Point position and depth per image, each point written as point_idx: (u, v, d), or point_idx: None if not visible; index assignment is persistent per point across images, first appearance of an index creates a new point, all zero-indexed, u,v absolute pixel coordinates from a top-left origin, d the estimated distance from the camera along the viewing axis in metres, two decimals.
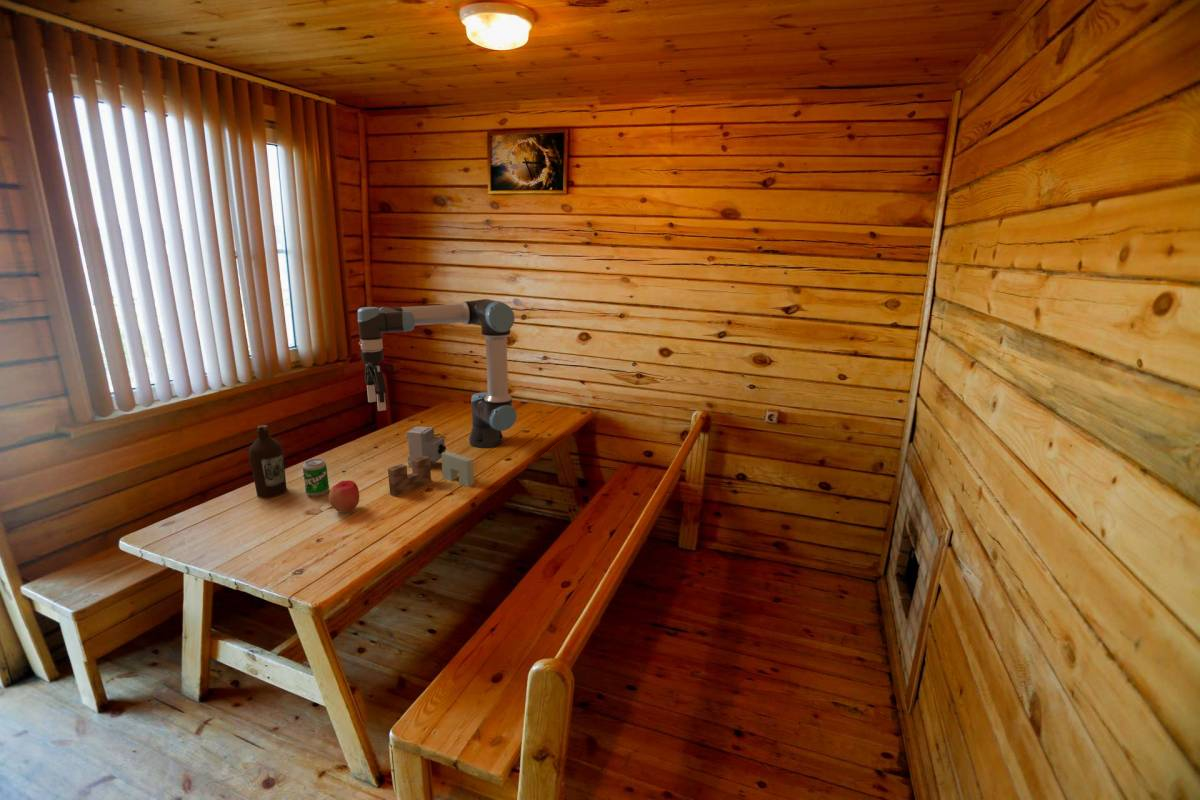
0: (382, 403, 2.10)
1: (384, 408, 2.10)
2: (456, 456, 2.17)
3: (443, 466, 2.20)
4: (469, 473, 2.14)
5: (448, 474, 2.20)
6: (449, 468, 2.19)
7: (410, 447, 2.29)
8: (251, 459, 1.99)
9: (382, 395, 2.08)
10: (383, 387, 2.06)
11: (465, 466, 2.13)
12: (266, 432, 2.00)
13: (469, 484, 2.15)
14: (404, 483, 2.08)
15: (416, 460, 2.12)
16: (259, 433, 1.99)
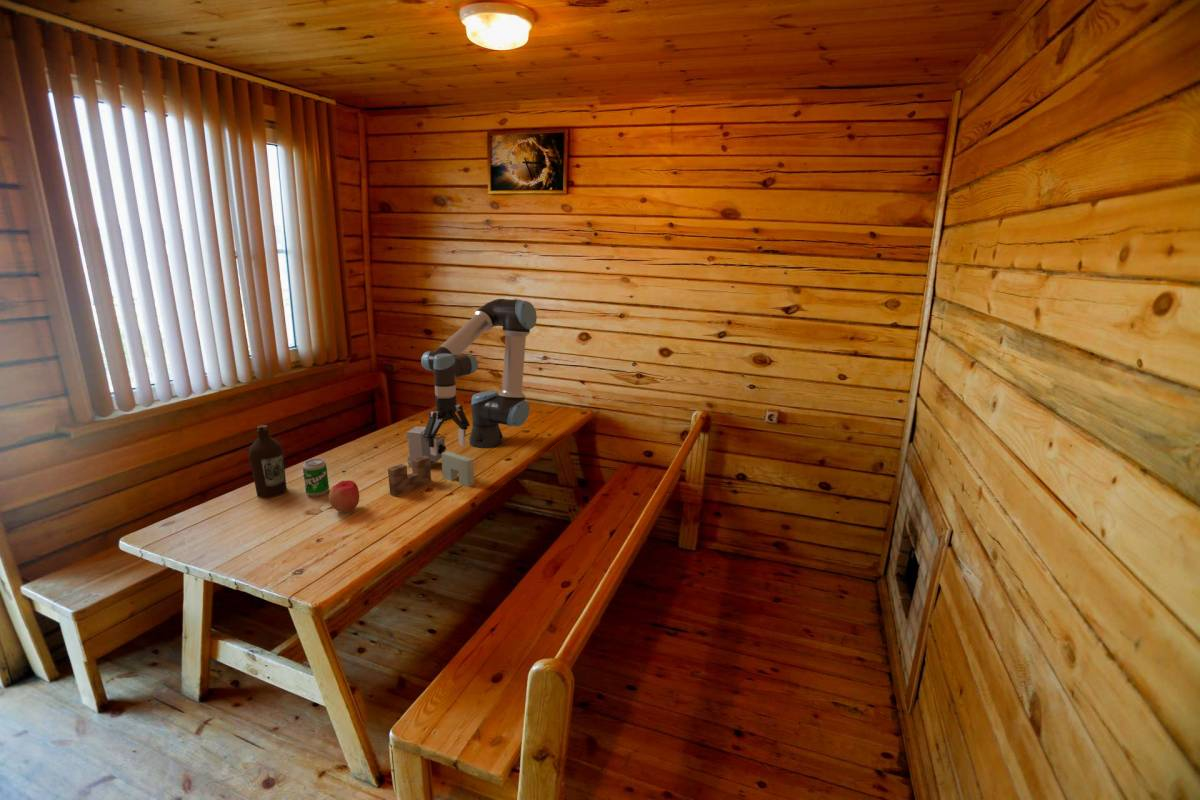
0: (433, 448, 2.12)
1: (434, 453, 2.12)
2: (456, 456, 2.17)
3: (443, 466, 2.20)
4: (469, 473, 2.14)
5: (448, 474, 2.20)
6: (449, 468, 2.19)
7: (410, 447, 2.29)
8: (251, 459, 1.99)
9: (430, 440, 2.10)
10: (427, 433, 2.08)
11: (465, 466, 2.13)
12: (266, 432, 2.00)
13: (469, 484, 2.15)
14: (404, 483, 2.08)
15: (416, 460, 2.12)
16: (259, 433, 1.99)
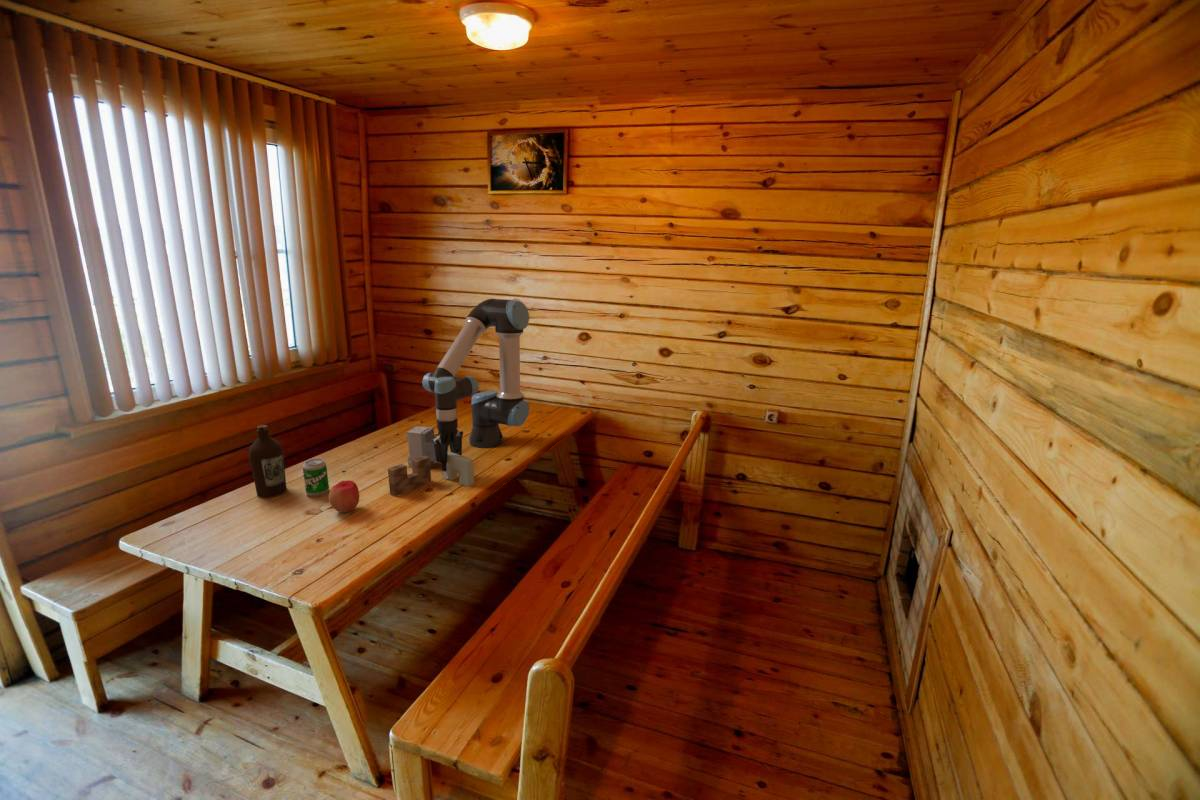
0: (445, 472, 2.19)
1: (447, 477, 2.20)
2: (456, 456, 2.17)
3: None
4: (469, 473, 2.14)
5: None
6: (449, 468, 2.19)
7: (410, 447, 2.29)
8: (251, 459, 1.99)
9: (442, 465, 2.17)
10: (439, 459, 2.15)
11: (465, 466, 2.13)
12: (266, 432, 2.00)
13: (469, 484, 2.15)
14: (404, 483, 2.08)
15: (416, 460, 2.12)
16: (259, 433, 1.99)
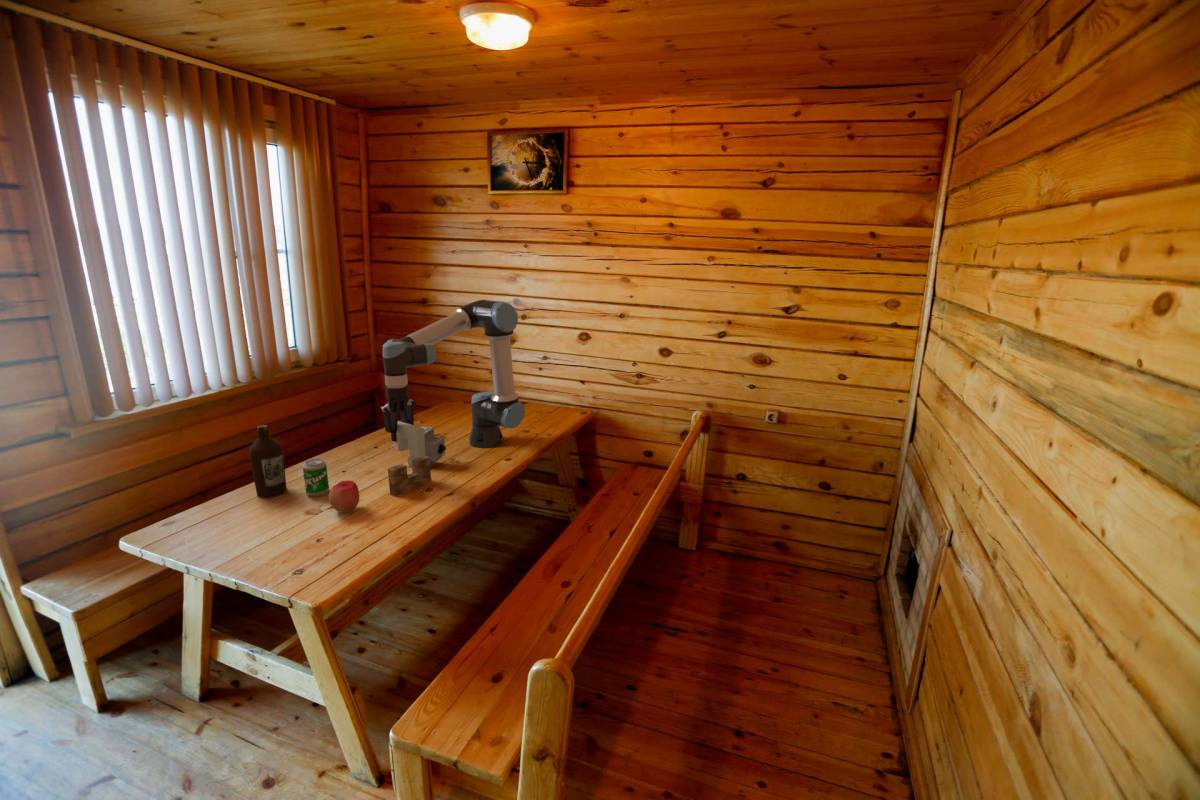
0: (396, 442, 2.08)
1: (397, 448, 2.08)
2: (407, 425, 2.06)
3: None
4: (419, 443, 2.03)
5: None
6: (399, 438, 2.08)
7: None
8: (251, 459, 1.99)
9: (392, 434, 2.06)
10: (387, 428, 2.04)
11: (415, 435, 2.02)
12: (266, 432, 2.00)
13: (420, 455, 2.04)
14: (404, 483, 2.08)
15: (416, 460, 2.12)
16: (259, 433, 1.99)
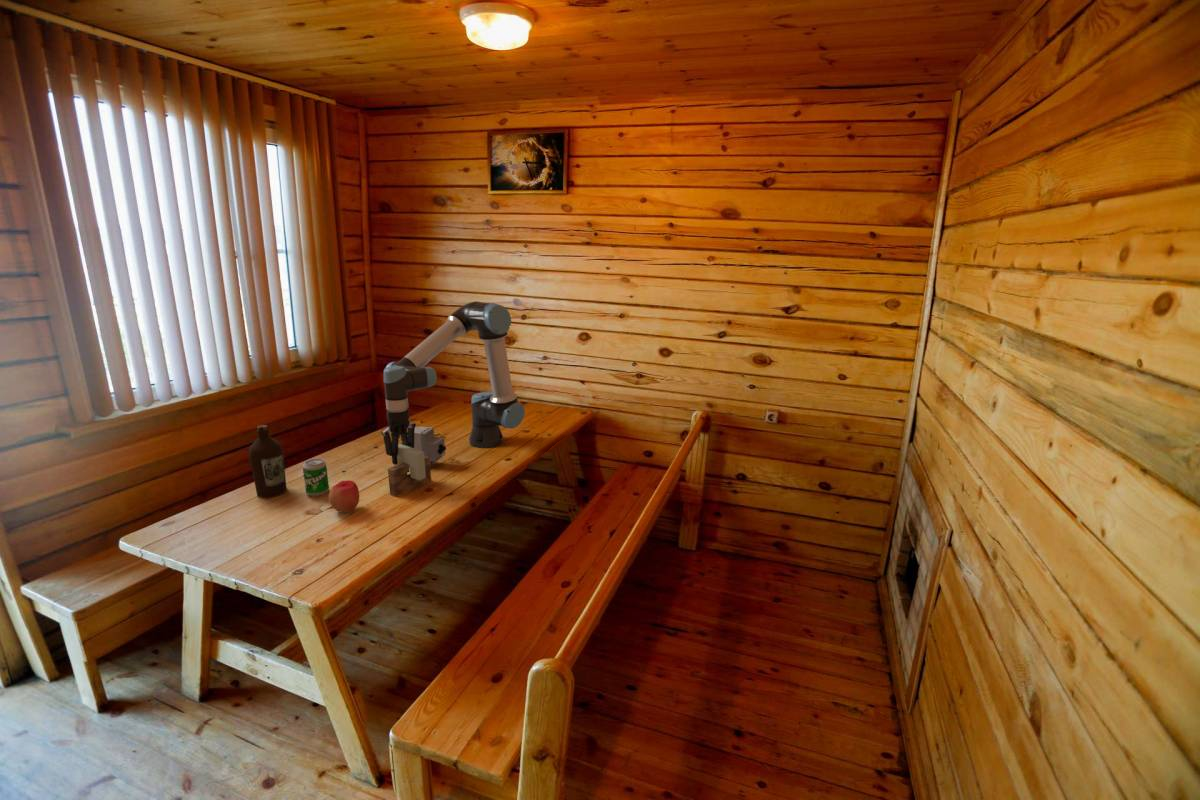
0: (396, 465, 2.11)
1: None
2: (407, 449, 2.08)
3: None
4: (420, 466, 2.05)
5: None
6: (400, 461, 2.10)
7: None
8: (251, 459, 1.99)
9: (393, 458, 2.09)
10: (388, 451, 2.06)
11: (415, 459, 2.04)
12: (266, 432, 2.00)
13: (420, 478, 2.06)
14: (404, 483, 2.08)
15: None
16: (259, 433, 1.99)
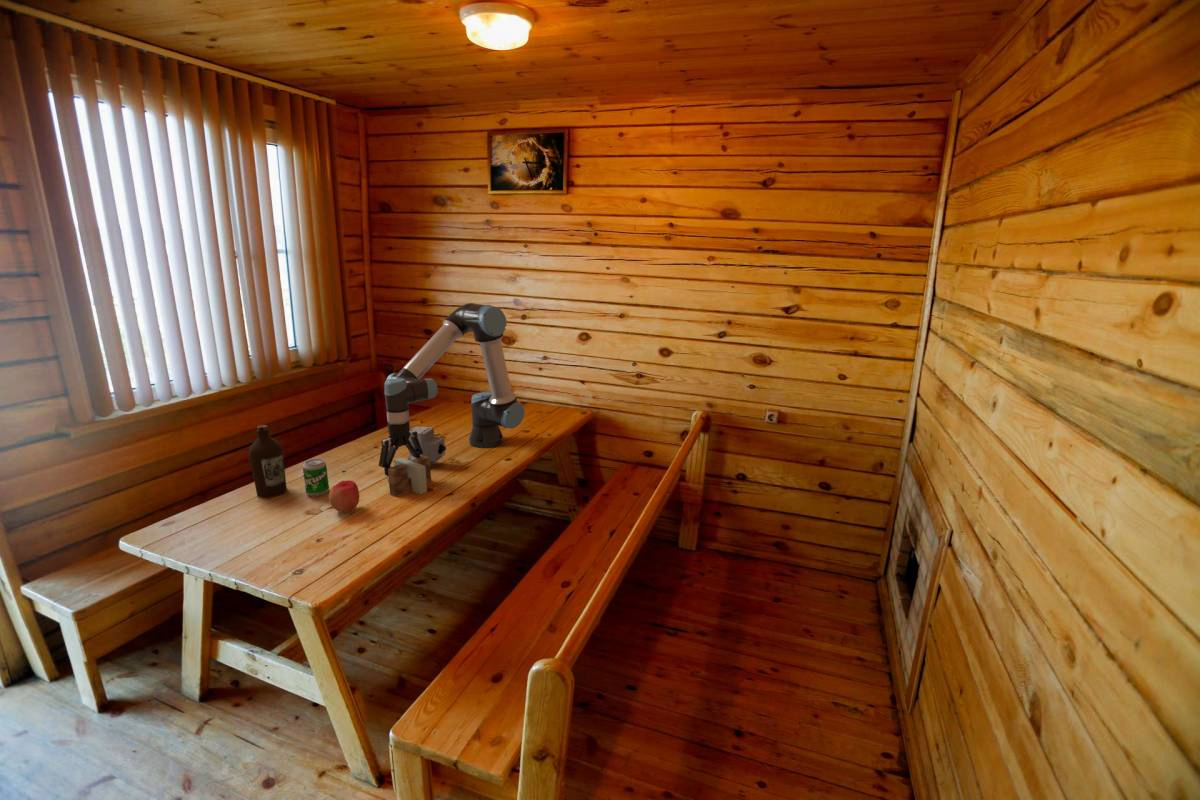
0: None
1: None
2: (409, 463, 2.10)
3: None
4: (421, 480, 2.07)
5: None
6: None
7: None
8: (251, 459, 1.99)
9: (385, 469, 2.07)
10: (382, 462, 2.05)
11: (417, 473, 2.06)
12: (266, 432, 2.00)
13: (422, 492, 2.08)
14: (404, 483, 2.08)
15: (416, 460, 2.12)
16: (259, 433, 1.99)
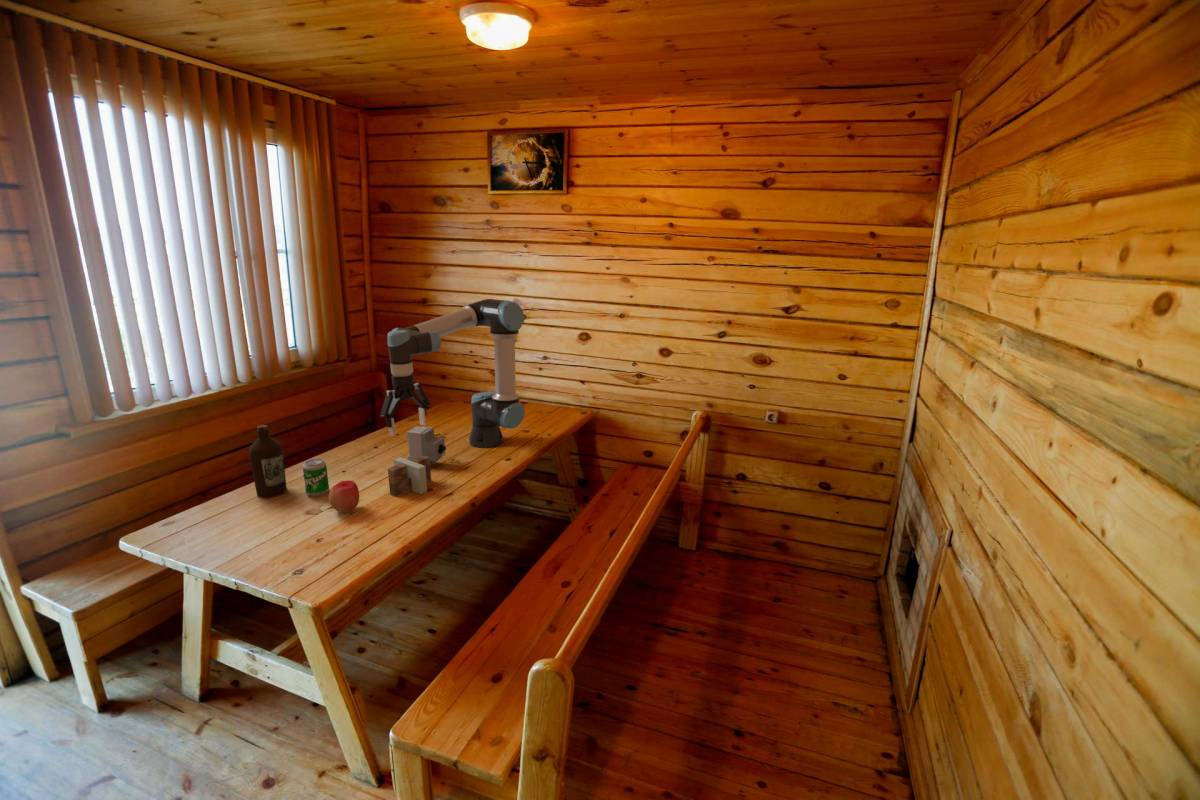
0: (391, 428, 2.06)
1: (392, 434, 2.06)
2: (409, 463, 2.10)
3: None
4: (421, 480, 2.07)
5: None
6: None
7: (410, 447, 2.29)
8: (251, 459, 1.99)
9: (387, 420, 2.04)
10: (383, 413, 2.02)
11: (417, 473, 2.06)
12: (266, 432, 2.00)
13: (422, 492, 2.08)
14: (404, 483, 2.08)
15: (416, 460, 2.12)
16: (259, 433, 1.99)
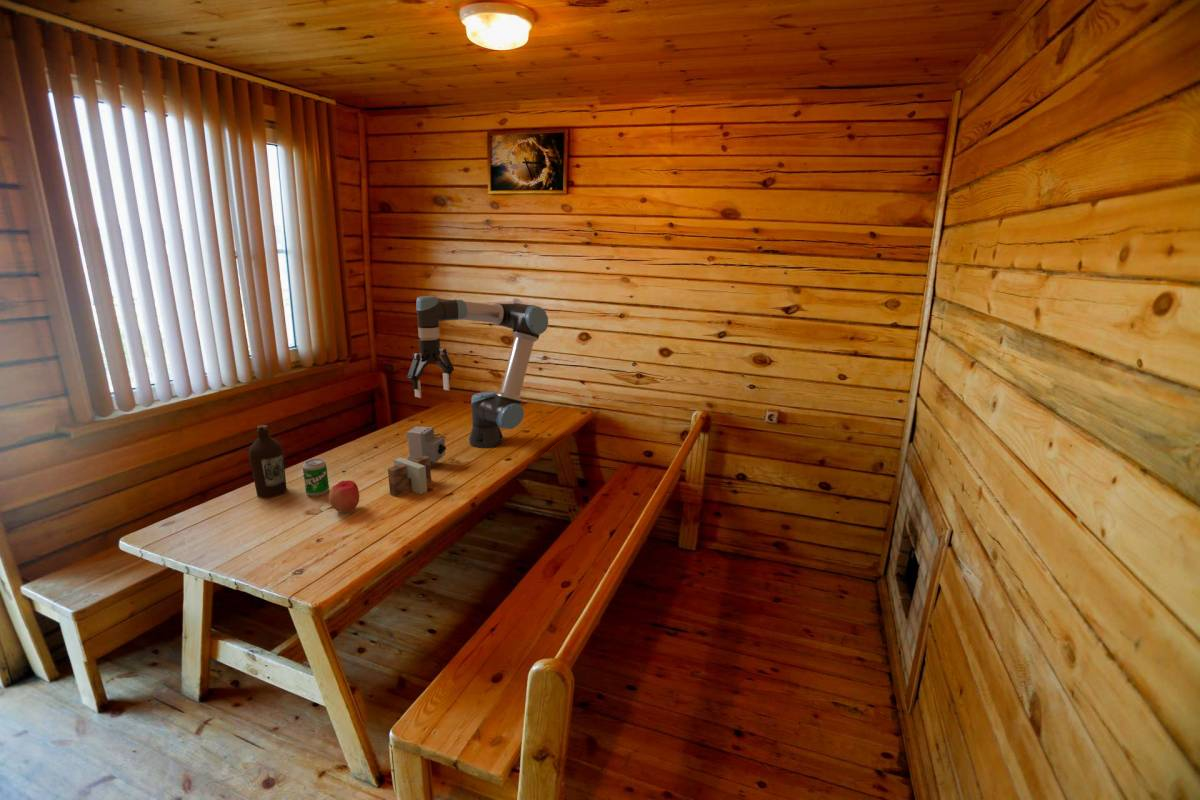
0: (417, 390, 2.14)
1: (418, 395, 2.14)
2: (409, 463, 2.10)
3: None
4: (421, 480, 2.07)
5: None
6: None
7: (410, 447, 2.29)
8: (251, 459, 1.99)
9: (413, 382, 2.12)
10: (411, 374, 2.10)
11: (417, 473, 2.06)
12: (266, 432, 2.00)
13: (422, 492, 2.08)
14: (404, 483, 2.08)
15: (416, 460, 2.12)
16: (259, 433, 1.99)
